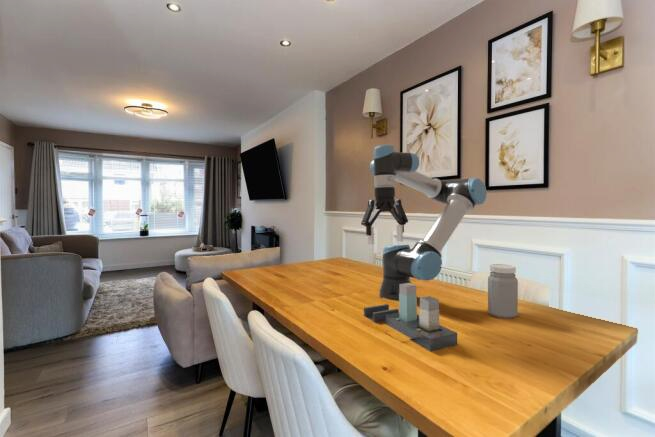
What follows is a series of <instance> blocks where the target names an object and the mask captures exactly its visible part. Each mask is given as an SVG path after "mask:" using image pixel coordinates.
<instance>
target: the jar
mask: <svg viewBox="0 0 655 437" xmlns="http://www.w3.org/2000/svg"><path fill="white" fill-rule="evenodd" d="M489 271H490V272H489V275H488V277H487V312H488V313H489V314H490V316H493V317H496V318H499V319H505V320H506V319H514V318H516V317H517V316H518V314H519V312H518V310H519V309H518V308H519V307H518V303H519V302H518V301H519V297H518V296H519V294H518V292H519V281H518V278H517V277H516V274H515V273H516V271H517V269H516V266H515V265H511V264H503V263H493V264H490V265H489Z"/></svg>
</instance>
